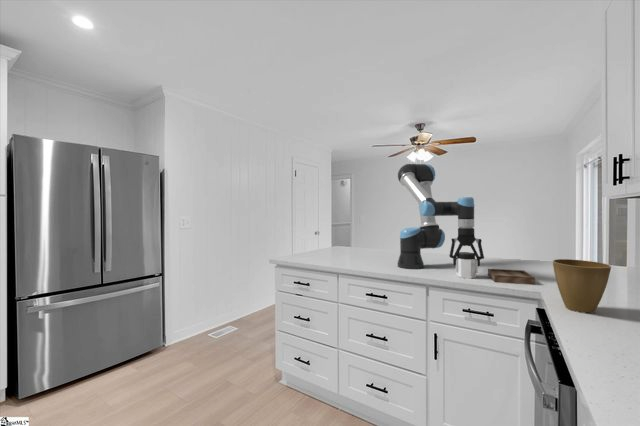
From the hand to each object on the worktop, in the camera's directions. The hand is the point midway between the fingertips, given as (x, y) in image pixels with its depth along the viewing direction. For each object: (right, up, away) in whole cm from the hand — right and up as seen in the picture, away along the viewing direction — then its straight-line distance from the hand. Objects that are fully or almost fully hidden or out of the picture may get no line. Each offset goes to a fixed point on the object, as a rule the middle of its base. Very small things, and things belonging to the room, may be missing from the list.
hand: (466, 272), depth 152 cm
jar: (0, -3, 0) cm, 3 cm away
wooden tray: (+18, -2, -7) cm, 19 cm away
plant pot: (+14, -3, -51) cm, 53 cm away
